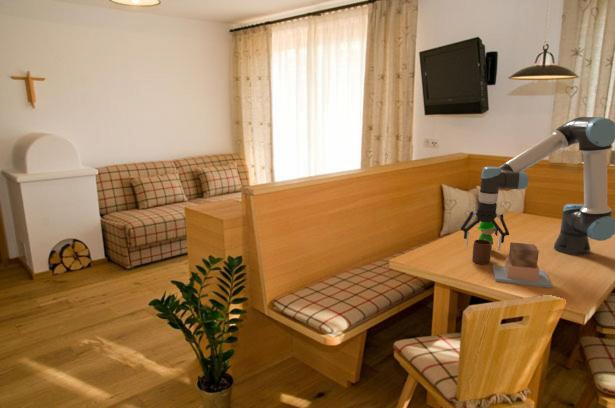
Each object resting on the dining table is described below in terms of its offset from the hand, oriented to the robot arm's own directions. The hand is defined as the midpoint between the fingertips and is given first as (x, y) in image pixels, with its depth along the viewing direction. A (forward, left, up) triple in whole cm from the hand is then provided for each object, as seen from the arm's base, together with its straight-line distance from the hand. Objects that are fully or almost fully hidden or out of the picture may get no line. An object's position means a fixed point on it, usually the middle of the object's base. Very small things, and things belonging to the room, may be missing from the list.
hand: (482, 247), depth 194 cm
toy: (-2, -17, -6) cm, 18 cm away
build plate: (-14, +16, -6) cm, 22 cm away
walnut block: (-14, +16, 0) cm, 21 cm away
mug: (0, 0, -6) cm, 6 cm away
